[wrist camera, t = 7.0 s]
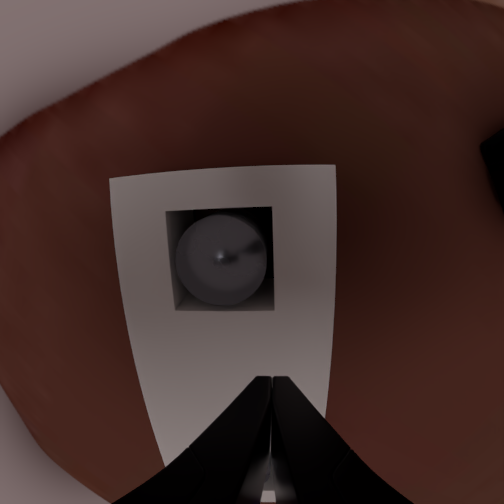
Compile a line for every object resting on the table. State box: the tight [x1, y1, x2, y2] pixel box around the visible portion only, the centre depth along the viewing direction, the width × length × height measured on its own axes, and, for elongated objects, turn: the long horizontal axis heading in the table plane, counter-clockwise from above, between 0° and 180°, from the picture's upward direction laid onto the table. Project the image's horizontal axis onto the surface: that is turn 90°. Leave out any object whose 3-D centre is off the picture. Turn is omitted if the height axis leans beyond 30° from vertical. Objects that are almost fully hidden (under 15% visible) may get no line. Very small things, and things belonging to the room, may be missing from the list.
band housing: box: [109, 165, 337, 502], centre depth 18 cm, size 10×22×5 cm, turn 2°
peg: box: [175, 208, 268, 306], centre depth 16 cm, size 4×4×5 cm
